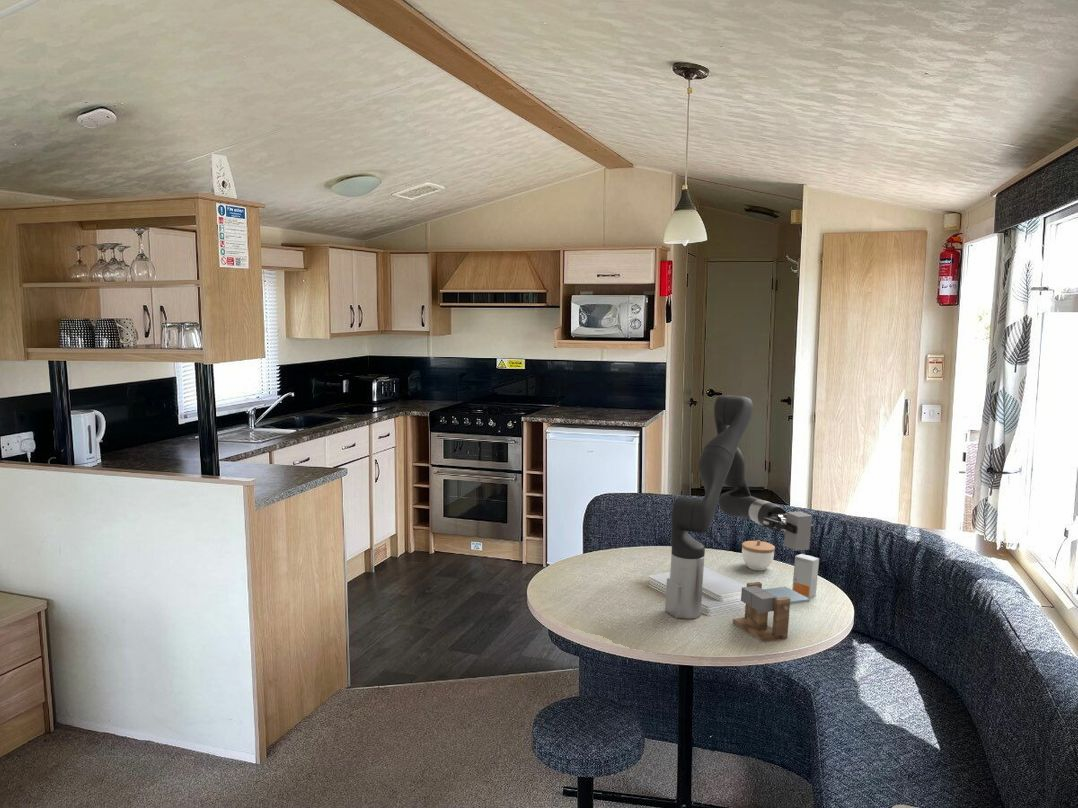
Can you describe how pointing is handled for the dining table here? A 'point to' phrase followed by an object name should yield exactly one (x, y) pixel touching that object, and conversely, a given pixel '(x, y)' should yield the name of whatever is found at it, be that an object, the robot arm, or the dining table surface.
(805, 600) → the trapdoor
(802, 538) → the basalt block
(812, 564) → the skincare box
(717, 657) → the dining table surface
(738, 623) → the trapdoor frame
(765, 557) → the lidded jar
